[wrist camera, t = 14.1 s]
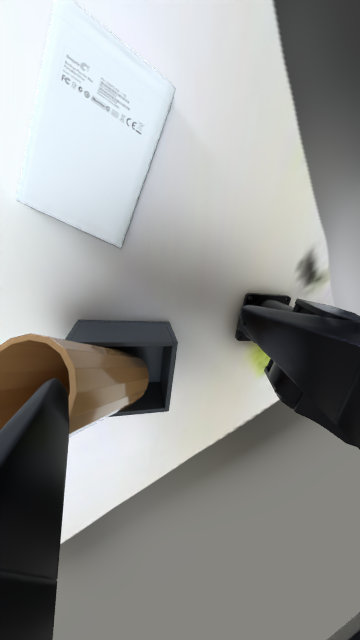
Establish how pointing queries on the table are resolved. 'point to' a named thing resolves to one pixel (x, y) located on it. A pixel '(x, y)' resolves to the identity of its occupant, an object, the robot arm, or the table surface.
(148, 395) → the bin
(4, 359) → the cup
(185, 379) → the table surface
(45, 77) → the hard drive
